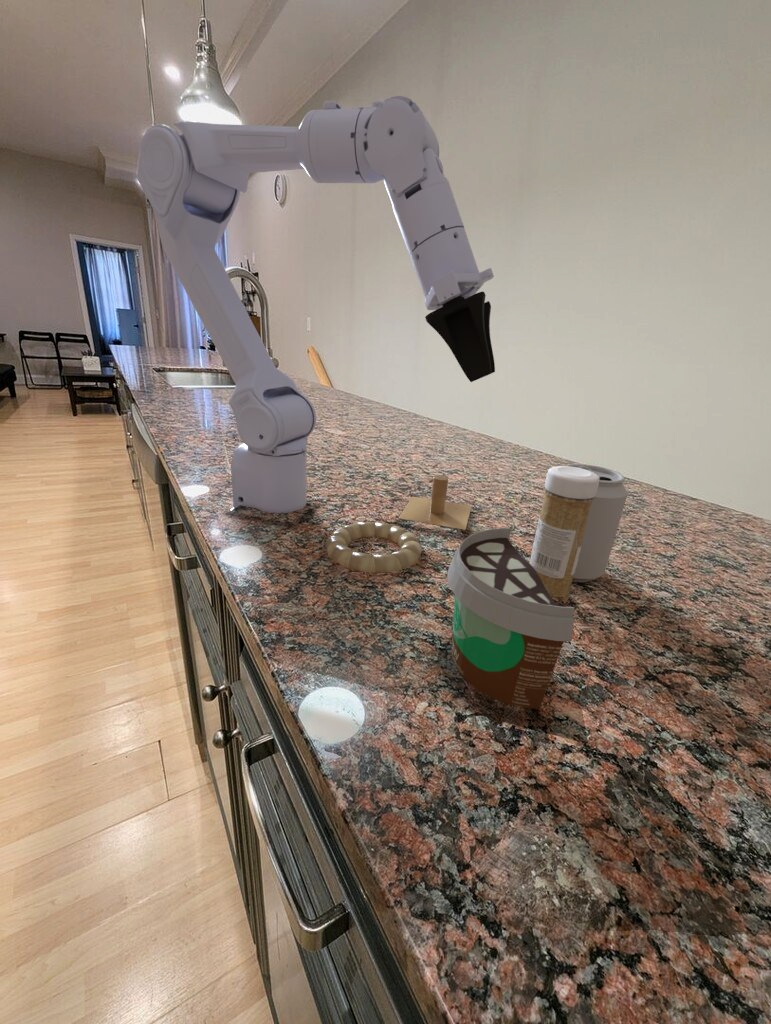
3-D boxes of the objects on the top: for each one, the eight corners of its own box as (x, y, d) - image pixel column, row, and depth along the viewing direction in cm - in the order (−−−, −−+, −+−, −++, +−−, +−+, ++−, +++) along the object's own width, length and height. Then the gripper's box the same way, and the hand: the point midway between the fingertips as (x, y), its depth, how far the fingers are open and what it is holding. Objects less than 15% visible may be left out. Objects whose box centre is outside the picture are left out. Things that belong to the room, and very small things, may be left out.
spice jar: (577, 600, 46) (611, 475, 41) (548, 612, 43) (581, 482, 38) (541, 579, 49) (568, 462, 44) (512, 589, 47) (538, 467, 42)
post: (397, 526, 60) (401, 482, 58) (411, 503, 68) (415, 464, 66) (464, 537, 58) (471, 493, 56) (470, 513, 66) (477, 473, 64)
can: (571, 591, 47) (599, 485, 43) (521, 559, 53) (541, 463, 49) (617, 578, 51) (648, 478, 46) (565, 549, 57) (588, 458, 52)
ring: (310, 570, 48) (310, 550, 47) (345, 530, 58) (346, 513, 57) (408, 590, 45) (410, 569, 45) (427, 545, 55) (429, 528, 54)
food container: (424, 623, 41) (435, 523, 37) (489, 623, 41) (508, 525, 37) (454, 739, 29) (476, 612, 25) (544, 737, 30) (579, 613, 26)
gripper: (468, 197, 36) (522, 360, 39) (481, 241, 49) (521, 360, 52) (390, 242, 38) (446, 392, 41) (423, 272, 52) (463, 384, 54)
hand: (483, 376), depth 47 cm, fingers open, 7 cm apart
